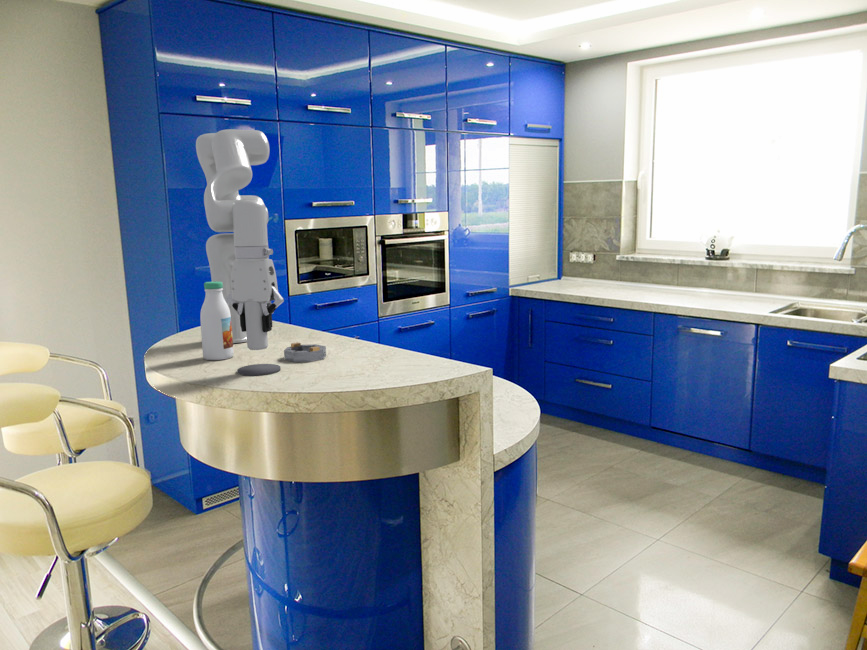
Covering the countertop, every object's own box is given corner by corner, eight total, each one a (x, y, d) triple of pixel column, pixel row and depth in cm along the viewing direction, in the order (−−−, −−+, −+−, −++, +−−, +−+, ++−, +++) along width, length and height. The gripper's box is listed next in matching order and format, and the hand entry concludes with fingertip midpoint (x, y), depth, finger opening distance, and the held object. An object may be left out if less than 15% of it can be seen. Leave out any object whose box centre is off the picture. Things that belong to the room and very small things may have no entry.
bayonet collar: (278, 358, 178) (277, 345, 177) (310, 352, 185) (309, 340, 184) (300, 363, 171) (299, 350, 170) (332, 357, 178) (332, 344, 177)
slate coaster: (229, 371, 164) (229, 368, 164) (266, 364, 171) (266, 361, 171) (251, 377, 157) (251, 375, 157) (288, 370, 164) (288, 367, 164)
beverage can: (248, 351, 160) (244, 300, 158) (246, 347, 164) (243, 297, 163) (269, 349, 161) (266, 298, 160) (267, 345, 166) (264, 296, 164)
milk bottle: (214, 362, 175) (209, 284, 171) (197, 358, 179) (191, 282, 176) (239, 356, 181) (234, 281, 177) (222, 353, 185) (216, 280, 182)
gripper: (292, 252, 161) (296, 329, 164) (228, 253, 165) (233, 327, 168) (277, 254, 154) (281, 334, 156) (210, 255, 158) (216, 332, 161)
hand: (256, 330), depth 162 cm, fingers closed on beverage can, 4 cm apart
